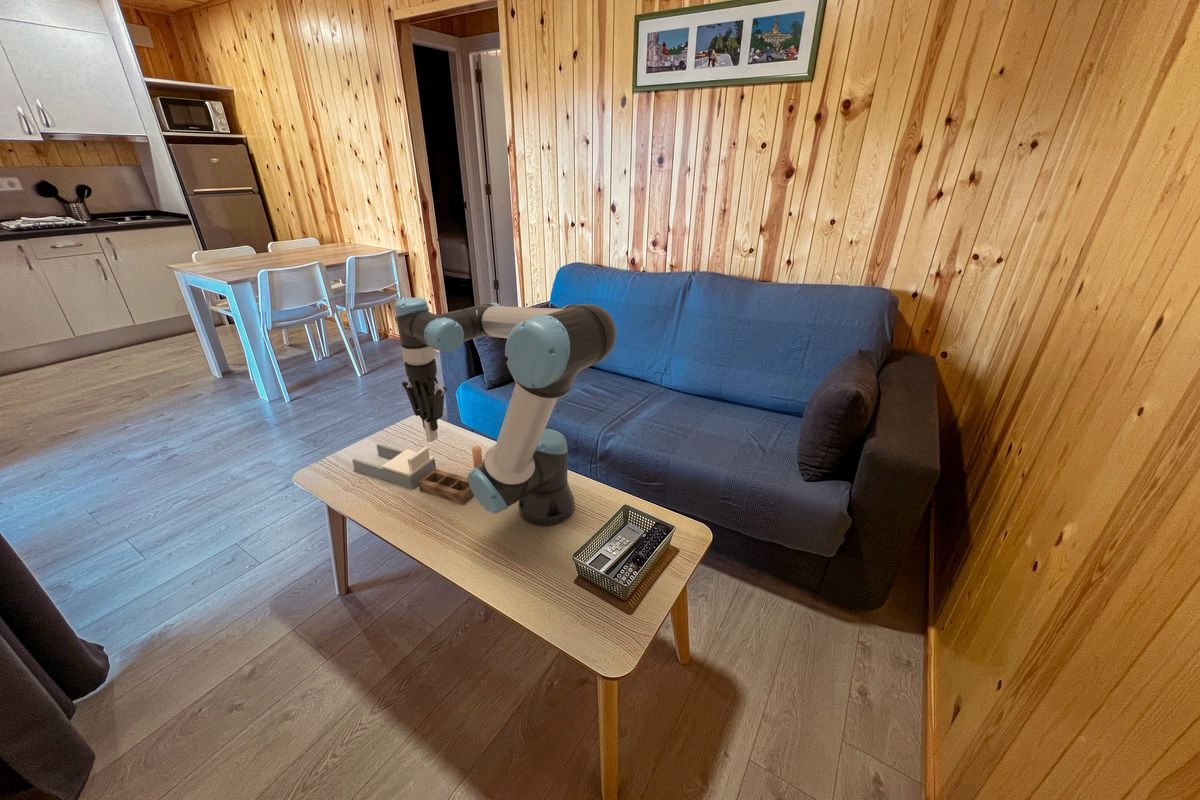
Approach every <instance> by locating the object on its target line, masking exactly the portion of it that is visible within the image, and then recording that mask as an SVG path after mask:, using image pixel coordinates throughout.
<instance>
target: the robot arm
mask: <svg viewBox="0 0 1200 800" xmlns="http://www.w3.org/2000/svg"><path fill="white" fill-rule="evenodd" d="M394 311H395V316H394V317H395V320H396V324H397V331H398V335H399V340H400V345H401V353H402V359H403V362H404V364H403V365H404V370H405V374H406V375H405V376H407V377H408V379H407V380H405V381H403V382H402V383H401V386H402V387H403V389H404V390H405V392H406V395H407V398H408V400H409V403H410V405H411V408H412V410H413V413H414V416H416V417H418V416H419V418H420V419H421V421H422V427H423V429H424V430H425V431H424V432H425V437H426V442H430V443H432V442H434V441H435V440H436V439H438V438H439V435H438V429H439V426H438V420H440V418H442V417H443V416H444V406H445V405H444V402H445V395H446V392H447V391H448V389H447V387H446V386H443V387H442V386H441V385H440V384H439V381H438V378H437V372H438V368H437V361H436V359H435V358H436V356H435V350H436V351H442V352H443V353H444V352H445V353H451V352H454V351H457V349H458V348H460V346H462V344H463V342H466V341H470V340H473V339H477V338H481V337H489V338H490V337H492V338H500V339H501V338H503V339H506V342H505V348H504V355H505V357H506V358H507V360H506V365H507V368H508V370H509V373H510V374H511V376H512V378H513V380H514V382H515V386H514V389H513V392H512V393H511V398H510V401H509V403H508V407H507V410H506V413H505V416H504V419H503V422H502V426H501V428H500V431H499V435H498V437H497V440H496V443H495V444H494V445H492V446H491V447H490V448H489V449H487V451H486V452H485V455H484V458H483V464H482V465H481V466H479V467H477V468H476V467H475V468H474V467H473V469H471V470H470V471H469V472H468V475H467V478H468V482H469V486H470V488H471V490H472V493H473V496H474V498H475V499H476V501H477V502H478V504H480V506H481V507H483V509H485V510H486V511H487V512H489V513H492V514H498V513H500V512H502V511H504V510H507V509H508V508H509V507H510V506H512V505H514V504H515V503H517V502H518V512H519V515H520V517H521V519H523V520H524V521H526V522H528V523H529V524H531V525H534V526H541V527H542V526H544V527H545V526H547V527H548V526H549V527H550V526H554V525H557V524H560V523H562V522H565V521H566V520H568V519H569V518H570V517H571V516H572V514H573V513H574V510H575V497H574V495H573V493H572V490H571V487H570V486H569V483H568V451H569V449H568V443H567V439H566V437H565V435H564V434H563V433H561V432H559V431H557V430H555V429H551V428H546V427H547V424H548V422H549V420H550V417H551V415H552V413H553V410H554V408H555V406H556V403H557V401H558V399H560V398H562V397H564V396H566V395H567V394H568V393H569V392H570V390H571V388H572V386H573V383H574V381H575V379H576V377H577V375H578V373H580V372H581V371H583V370H584V369H587V368H589V367H592V366H594V365H596V364H598V363H601V362H602V361H604V360H605V359H606V357H608V356H609V355H610V354H611V352H612V351H613V349H614V347H615V343H616V339H617V327H616V324H615V321H614V319H613V317H612V316H611V314H610V313H609V312H608V310H605V309H604V308H602V307H601V306H599V305H597V304H593V303H584V304H583V303H581V304H578V303H577V304H576V303H573V304H572V303H571V304H567V305H565V306H564V307H562V308H552V307H551V308H550V307H549V308H547V307H525V306H502V305H500V304H499V303H498V302H490V303H489V302H485V303H481V304H479V305H475V306H471V307H467V308H461V309H458V310H454V311H453V310H451V311H449V312H444V313H440V314H436V313H433V312H430V308H429V306H428V302H427V301H426V299H424V298H421V297H406V298H401V299H399V300H397V301H396V302H395V303H394Z"/></svg>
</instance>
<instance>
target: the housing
mask: <svg viewBox="0 0 1200 800" xmlns="http://www.w3.org/2000/svg"><path fill="white" fill-rule="evenodd" d="M375 446H376V450H377V454H378V457H379V456H380V457H382V458H386V459H390V460H391V459H393V458H394V457H396V456H397V455H399V454H400V453H402V452H403V451H404V450H402V449H398V448H396V447H395V448H394V447H391V446H388V445H384V444H380V443H376V445H375ZM351 460H352V461H351V462H352V465H353V469H354V471H355V472H358V473H361V474H364V475H367V476H370V477H374V478H377V479H379V480H383V481H385V482H388V483H392V484H396V485H398V486H401V487H404V488H406V489H407V488H408V489H410V490H414V489H415V488H417V487H419V486H418V481H419V480H421V479H422V478H423V477H425V476H426V475H427V474H429V473H430V472H431V471H433V470H434V469H437V466H436V459H434V460H432V461H431V462H430V463H428V464H427V465H426V466H424V467H423V468H422V469H420V470H419V471H418V472H416V473H415V474H414V475H412V476H411V477H408V476H405V475H402V474H399V473H395V472H392V471H389V470H386V469H383V468H382V465H381V466H380V465H377V464H374V463H372V462H368V461H364V460H361V459H357V458H355V457H353V458H352V459H351Z"/></svg>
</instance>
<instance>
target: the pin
mask: <svg viewBox="0 0 1200 800" xmlns="http://www.w3.org/2000/svg"><path fill="white" fill-rule="evenodd" d="M482 452H483V451H482V447H481V446H479V445H476V446H473V447H472V448H471V453H472V459H473V461H472V462H473V469H474V468H475V467H476V468H477V467H479V466H481V465H482V464H483V461H484V459H483V453H482Z"/></svg>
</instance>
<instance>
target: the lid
mask: <svg viewBox="0 0 1200 800" xmlns="http://www.w3.org/2000/svg"><path fill="white" fill-rule="evenodd" d="M402 451H403V452H402V453H400V454H399V455H397V456H396V457H394V458H393V459H390V460H389V461H387V462H386V463H384V464H383V465H381V467H382V468H383V469H386V470H389V471H392V472H395V473H399V474H402V475H405V476H408V477H411V476H412V475H414V474H415V473H416V472H418V471H419V470H420V469H422V468H423V467H424V466H426V465H427V464H428V463H430V462H431V461H432V460H435V457H434V456H433V455H430V452H429V447H426V446H424V447H422V448H421V449H419V450H418V451H415V450H411V449H408V448H407V449H405V450H402Z"/></svg>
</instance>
